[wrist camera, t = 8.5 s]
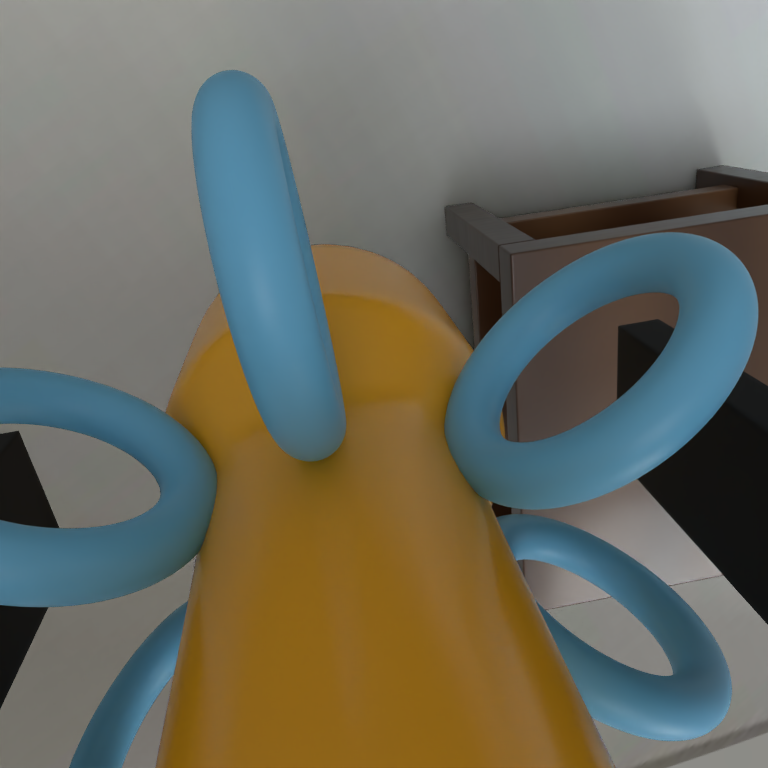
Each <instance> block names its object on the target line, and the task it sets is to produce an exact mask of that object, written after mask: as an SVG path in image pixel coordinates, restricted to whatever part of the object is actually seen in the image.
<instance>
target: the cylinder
mask: <svg viewBox="0 0 768 768" xmlns="http://www.w3.org/2000/svg"><path fill="white" fill-rule="evenodd" d="M191 128H192V149H193V160H194V168H195V176H196V183H197V189H198V195H199V201H200V207H201V212H202V217H203V223H204V227H205V232H206V237H207V242H208V246H209V251H210V255H211V260H212V264H213V268H214V272H215V276H216V280H217V284H218V288H219V292H220V293H219V294H218V295H217V297H216V298H215V299H214V301H213V302H212V303H211V305H210V306H209V308H208V309H207V311H206V313H205V315H204V317H203V319H202V321H201V323H200V325H199V327H198V329H197V331H196V334H195V336H194V339H193V341H192V343H191V346H190V348H189V351H188V353H187V356H186V358H185V361H184V363H183V366H182V368H181V371H180V373H179V376H178V378H177V381H176V383H175V386H174V388H173V391H172V394H171V396H170V399H169V402H168V405H167V408H166V412H165V413H164V412H163V411H161V410H160V409H158V408H156V407H155V406H153V405H151V404H149V403H147V402H145V401H143V400H141V399H139V398H137V397H135V396H132V395H130V394H128V393H125V392H123V391H120V390H118V389H115V388H112V387H109V386H107V385H103V384H100V383H97V382H94V381H90V380H86V379H83V378H78V377H74V376H70V375H65V374H60V373H54V372H48V371H40V370H32V369H21V368H1V367H0V424H9V423H12V424H33V425H43V426H50V427H56V428H61V429H66V430H70V431H74V432H78V433H82V434H85V435H88V436H91V437H94V438H97V439H99V440H102V441H104V442H107V443H109V444H111V445H113V446H115V447H117V448H119V449H121V450H123V451H125V452H126V453H128V454H129V455H131V456H132V457H134V458H135V459H137V460H138V461H139V462H140V463H142V464H143V465H144V466H145V467H146V468H147V469H148V470H149V471H150V472H151V473H152V475H153V476H154V477H155V479H156V481H157V482H158V485H159V487H160V492H161V495H160V499H159V501H158V502H157V504H156V505H155V506H154V507H153V508H151V509H150V510H149V511H147V512H145V513H144V514H142V515H140V516H138V517H135V518H133V519H130V520H127V521H124V522H120V523H116V524H111V525H106V526H99V527H90V528H46V527H36V526H28V525H22V524H17V523H11V522H7V521H3V520H0V605H6V606H18V607H61V606H73V605H82V604H89V603H95V602H100V601H105V600H109V599H114V598H117V597H121V596H124V595H128V594H131V593H134V592H136V591H139V590H142V589H144V588H147V587H149V586H151V585H153V584H155V583H157V582H159V581H161V580H163V579H165V578H167V577H168V576H170V575H172V574H173V573H175V572H176V571H178V570H179V569H180V568H182V567H183V566H184V565H186V564H187V563H188V562H189V561H190V560H191V559H192V558H193V557H194V556H195V555H196V554H197V556H196V561H195V567H194V573H193V578H192V583H191V589H190V594H189V599H188V601H187V602H186V603H184V604H183V605H181V606H180V607H179V608H178V609H176V610H175V611H174V612H173V613H172V614H170V615H169V616H168V617H167V618H166V619H165V620H164V621H163V622H162V623H161V624H160V625H159V626H158V627H157V628H156V629H155V630H154V631H153V632H152V633H151V634H150V635H149V636H148V637H147V639H146V640H145V641H144V642H143V643H142V644H141V646H140V647H139V648H138V649H137V650H136V652H135V653H134V654H133V656H132V657H131V658H130V659H129V661H128V662H127V663H126V665H125V666H124V668H123V669H122V670H121V672H120V673H119V675H118V676H117V678H116V679H115V681H114V682H113V684H112V685H111V687H110V688H109V690H108V691H107V693H106V695H105V696H104V698H103V699H102V701H101V703H100V705H99V706H98V708H97V710H96V712H95V713H94V715H93V717H92V719H91V721H90V723H89V724H88V726H87V728H86V730H85V732H84V734H83V736H82V739H81V741H80V743H79V745H78V747H77V750H76V752H75V754H74V757H73V759H72V761H71V764H70V767H69V768H122V765H123V763H124V760H125V757H126V755H127V753H128V750H129V748H130V746H131V743H132V741H133V739H134V737H135V735H136V733H137V731H138V729H139V727H140V725H141V723H142V721H143V720H144V718H145V716H146V714H147V713H148V711H149V709H150V708H151V706H152V704H153V703H154V701H155V700H156V698H157V697H158V695H159V694H160V692H161V691H162V689H163V688H164V686H165V685H166V684H167V682H168V681H169V680H170V678H171V677H172V676H173V675H174V676H173V681H172V686H171V691H170V696H169V701H168V706H167V711H166V716H165V721H164V726H163V731H162V736H161V741H160V746H159V751H158V757H157V762H156V767H155V768H616V767H615V765H614V763H613V761H612V759H611V757H610V755H609V753H608V751H607V748H606V746H605V744H604V742H603V740H602V738H601V736H600V734H599V732H598V730H597V728H596V726H595V724H594V721H593V719H592V718H594V719H596V720H598V721H600V722H602V723H604V724H606V725H608V726H611V727H613V728H616V729H618V730H621V731H623V732H626V733H629V734H633V735H636V736H640V737H644V738H648V739H654V740H661V741H683V740H690V739H694V738H697V737H700V736H703V735H705V734H707V733H708V732H710V731H712V730H713V729H714V728H715V727H717V726H718V725H719V724H720V722H721V721H722V720H723V718H724V717H725V715H726V713H727V711H728V709H729V706H730V702H731V695H732V684H731V677H730V672H729V669H728V665H727V663H726V660H725V658H724V655H723V653H722V651H721V649H720V647H719V645H718V644H717V642H716V640H715V638H714V637H713V635H712V634H711V632H710V631H709V629H708V628H707V627H706V625H705V624H704V623H703V621H702V620H701V619H700V618H699V616H698V615H697V614H696V613H695V612H694V611H693V610H692V608H691V607H690V606H689V605H688V604H687V603H686V602H685V601H684V600H683V599H682V598H681V597H680V596H679V595H678V594H677V593H676V592H675V591H674V590H673V589H672V588H670V587H669V586H668V585H667V584H666V583H665V582H664V581H662V580H661V579H660V578H659V577H658V576H656V575H655V574H654V573H653V572H651V571H650V570H649V569H647V568H646V567H645V566H643V565H642V564H641V563H639V562H638V561H636V560H635V559H633V558H632V557H630V556H629V555H627V554H626V553H624V552H623V551H621V550H620V549H618V548H616V547H615V546H613V545H611V544H609V543H608V542H606V541H604V540H602V539H600V538H598V537H596V536H594V535H592V534H590V533H588V532H586V531H584V530H581V529H579V528H577V527H574V526H572V525H569V524H566V523H563V522H560V521H557V520H554V519H550V518H546V517H541V516H536V515H528V514H510V515H504V516H500V517H496V516H495V514H494V511H493V509H492V504H493V503H496V504H499V505H503V506H506V507H511V508H518V509H530V510H538V509H552V508H559V507H565V506H570V505H574V504H578V503H581V502H585V501H588V500H591V499H594V498H597V497H600V496H602V495H605V494H607V493H610V492H612V491H614V490H616V489H618V488H621V487H623V486H625V485H627V484H628V483H630V482H632V481H634V480H636V479H638V478H639V477H641V476H643V475H644V474H646V473H648V472H649V471H651V470H652V469H654V468H655V467H657V466H658V465H660V464H661V463H662V462H664V461H665V460H667V459H668V458H669V457H670V456H672V455H673V454H674V453H676V452H677V451H678V450H679V449H680V448H682V447H683V446H684V445H685V444H686V443H687V442H688V441H690V440H691V439H692V438H693V437H694V436H695V435H696V434H697V433H698V432H699V431H700V430H701V429H702V428H703V427H704V426H705V425H706V424H707V422H708V421H709V420H710V419H711V418H712V417H713V416H714V414H715V413H716V412H717V411H718V410H719V408H720V407H721V406H722V404H723V403H724V402H725V400H726V399H727V397H728V396H729V395H730V393H731V392H732V390H733V388H734V387H735V385H736V383H737V382H738V380H739V378H740V376H741V374H742V372H743V370H744V368H745V366H746V364H747V362H748V359H749V357H750V354H751V351H752V348H753V345H754V341H755V337H756V332H757V326H758V300H757V294H756V290H755V286H754V283H753V281H752V278H751V276H750V274H749V272H748V271H747V269H746V267H745V266H744V265H743V263H742V262H741V261H740V260H739V258H738V257H737V256H736V255H735V254H733V253H732V252H731V251H730V250H729V249H727V248H726V247H724V246H723V245H721V244H719V243H717V242H715V241H713V240H711V239H708V238H705V237H702V236H698V235H694V234H688V233H678V232H665V233H653V234H647V235H641V236H637V237H633V238H629V239H625V240H622V241H619V242H616V243H613V244H610V245H608V246H605V247H603V248H600V249H598V250H596V251H593V252H591V253H589V254H587V255H585V256H583V257H581V258H579V259H577V260H576V261H574V262H572V263H570V264H569V265H567V266H565V267H564V268H562V269H560V270H559V271H557V272H556V273H554V274H553V275H551V276H550V277H548V278H547V279H545V280H544V281H543V282H541V283H540V284H539V285H537V286H536V287H535V288H533V289H532V290H531V291H530V292H528V293H527V294H526V295H525V296H524V297H522V298H521V299H520V300H519V301H518V302H517V303H516V304H515V305H513V306H512V307H511V308H510V309H509V310H508V311H507V312H506V313H505V314H504V315H503V316H502V317H501V318H500V319H499V320H498V321H497V323H496V324H495V325H494V326H493V327H492V328H491V329H490V330H489V332H488V333H487V334H486V335H485V336H484V338H483V339H482V340H481V342H480V343H479V344H478V346H477V347H476V348H475V350H473V349H472V347H471V346H470V345H469V343H468V342H467V340H466V339H465V338H464V336H463V335H462V333H461V332H460V331H459V329H458V328H457V326H456V325H455V324H454V322H453V321H452V320H451V318H450V317H449V315H448V314H447V313H446V311H445V310H444V308H443V307H442V306H441V304H440V303H439V302H438V300H437V299H436V298H435V297H434V295H433V294H432V293H431V292H430V291H429V289H428V288H427V287H426V286H425V285H424V284H423V283H422V282H421V281H420V280H419V279H418V278H416V277H415V276H414V275H413V274H412V273H410V272H409V271H408V270H406V269H405V268H403V267H402V266H400V265H399V264H397V263H395V262H393V261H391V260H389V259H387V258H385V257H383V256H381V255H379V254H376V253H373V252H370V251H367V250H363V249H359V248H355V247H349V246H341V245H329V244H321V245H310V241H309V237H308V233H307V229H306V224H305V220H304V216H303V212H302V208H301V203H300V199H299V195H298V191H297V187H296V183H295V179H294V175H293V171H292V167H291V163H290V159H289V155H288V151H287V147H286V144H285V140H284V136H283V133H282V129H281V125H280V122H279V118H278V115H277V112H276V109H275V106H274V103H273V100H272V98H271V96H270V94H269V92H268V91H267V89H266V88H265V86H264V85H263V84H262V83H261V82H260V81H259V80H258V79H256V78H255V77H253V76H252V75H250V74H248V73H245V72H242V71H238V70H226V71H222V72H219V73H216V74H214V75H213V76H211V77H210V78H209V79H207V80H206V81H205V82H204V84H203V85H202V86H201V88H200V89H199V91H198V93H197V95H196V98H195V101H194V105H193V111H192V126H191ZM652 292H658V293H666V294H670V295H672V296H674V297H675V298H676V299H677V300H678V303H679V316H678V320H677V324H676V326H675V329H674V331H673V334H672V336H671V338H670V340H669V341H668V343H667V345H666V347H665V348H664V350H663V351H662V353H661V354H660V356H659V357H658V358H657V360H656V361H655V362H654V364H653V365H652V366H651V367H650V368H649V370H648V371H647V372H646V373H645V374H644V375H643V376H642V377H641V378H640V379H639V380H638V381H637V382H636V383H635V384H634V385H633V386H632V387H631V388H630V389H629V390H628V391H627V392H626V393H625V394H623V395H622V396H621V397H620V398H619V399H617V400H616V401H615V402H614V403H612V404H611V405H610V406H608V407H607V408H606V409H604V410H603V411H601V412H600V413H598V414H597V415H595V416H594V417H592V418H590V419H589V420H587V421H585V422H583V423H582V424H580V425H578V426H576V427H574V428H572V429H570V430H568V431H565V432H563V433H561V434H558V435H555V436H552V437H549V438H546V439H542V440H538V441H533V442H523V443H519V442H511V441H508V440H506V439H505V427H504V419H503V413H502V408H503V405H504V402H505V400H506V398H507V395H508V393H509V391H510V389H511V388H512V386H513V384H514V382H515V381H516V379H517V378H518V376H519V375H520V373H521V372H522V371H523V369H524V368H525V367H526V366H527V364H528V363H529V362H530V361H531V360H532V358H533V357H534V356H535V355H536V354H537V353H538V352H539V351H540V350H541V349H542V348H543V347H544V346H545V345H546V344H547V343H548V342H549V341H551V340H552V339H553V338H554V337H555V336H556V335H558V334H559V333H560V332H561V331H563V330H564V329H565V328H567V327H568V326H569V325H571V324H572V323H574V322H575V321H577V320H578V319H580V318H582V317H583V316H585V315H587V314H588V313H590V312H592V311H594V310H596V309H598V308H600V307H602V306H604V305H606V304H608V303H611V302H613V301H616V300H619V299H622V298H625V297H628V296H632V295H637V294H642V293H652ZM523 559H528V560H536V561H541V562H545V563H549V564H552V565H555V566H558V567H560V568H563V569H565V570H568V571H570V572H572V573H574V574H576V575H578V576H580V577H582V578H584V579H585V580H587V581H589V582H591V583H592V584H594V585H596V586H597V587H599V588H600V589H602V590H603V591H605V592H606V593H607V594H609V595H610V596H612V597H613V598H614V599H616V600H617V601H618V602H619V603H621V604H622V605H623V606H624V607H625V608H627V609H628V610H629V611H630V612H631V613H632V614H633V615H634V616H635V617H636V618H637V619H638V620H639V621H640V622H641V623H642V624H643V625H644V626H645V627H646V628H647V629H648V630H649V631H650V632H651V634H652V635H653V636H654V637H655V639H656V640H657V641H658V643H659V644H660V645H661V647H662V648H663V650H664V652H665V653H666V655H667V657H668V659H669V661H670V664H671V666H672V670H673V675H671V676H659V675H653V674H649V673H645V672H642V671H639V670H636V669H633V668H631V667H628V666H626V665H624V664H622V663H619V662H617V661H615V660H613V659H611V658H610V657H608V656H606V655H604V654H602V653H601V652H599V651H597V650H596V649H594V648H592V647H591V646H589V645H588V644H586V643H585V642H583V641H582V640H580V639H579V638H578V637H576V636H575V635H574V634H572V633H571V632H570V631H568V630H567V629H566V628H565V627H563V626H562V625H561V624H560V623H559V622H558V621H556V620H555V619H554V618H553V617H552V616H551V615H550V614H549V613H548V612H547V611H546V610H545V609H544V608H543V607H542V606H541V605H540V604H539V603H538V602H537V601H536V600H535V598H534V597H533V594H532V592H531V590H530V588H529V586H528V584H527V582H526V580H525V578H524V575H523V573H522V571H521V569H520V567H519V565H518V563H517V560H523Z"/></svg>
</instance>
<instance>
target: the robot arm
mask: <svg viewBox="0 0 768 768" xmlns="http://www.w3.org/2000/svg"><path fill="white" fill-rule="evenodd" d="M673 331H674V328H672V327H671V326H669V325H667V324H666V323H664V322H663V321H661V320H659V319H655V320H649V321H644V322H638V323H632V324H626V325H621V326H618V358H617V399H619V398H620V397H621V396H622V395H623V394H625V393H626V392H627V391H628V390H629V389H630V388H631V387H632V386H633V385H634V384H635V383H636V382H637V381H638V380H639V379H640V378H641V377H642V376H643V375H644V374H645V373H646V372H647V371H648V370H649V368H650V367H651V366H652V365H653V364H654V362H655V361H656V360H657V358H658V357H659V356H660V354H661V353H662V351H663V350H664V348H665V347H666V345H667V343H668V341H669V340H670V338H671V336H672V334H673ZM637 480H638V481H639V482H640V483H641V484H642V485H643V486H644V487H645V488H646V490H647V491H648V492H649V493H650V494H651V495H652V496H653V497H654V498H655V500H656V501H657V502H658V503H659V504H660V505H661V506H662V507H663V509H664V510H665V511H666V512H667V513H668V514H669V515H670V516H671V517H672V519H673V520H674V521H675V522H676V523H677V524H678V525H679V526H680V527H681V529H682V530H683V531H684V532H685V533H686V534H687V535H688V536H689V537H690V539H691V540H692V541H693V542H694V543H695V544H696V545H697V546H698V547H699V549H700V550H701V551H702V552H703V553H704V554H705V555H706V556H707V557H708V559H709V560H710V561H711V562H712V563H713V564H714V565H715V566H716V568H717V569H718V570H719V571H720V572H721V573H722V574H723V575H724V576H725V578H726V579H727V580H728V581H729V582H730V583H731V584H732V585H733V586H734V588H735V589H736V590H737V591H738V592H739V593H740V594H741V595H742V596H743V598H744V599H745V600H746V601H747V602H748V603H749V604H750V605H751V606H752V608H753V609H754V610H755V611H756V612H757V613H758V614H759V615H760V616H761V618H762V619H763V620H764V621H765V622H766V623H767V624H768V386H767V385H765V384H764V383H762V382H761V381H759V380H757V379H756V378H754V377H752V376H751V375H749V374H748V373H746V372H744V371H743V372H742V374H741V376H740V378H739V380H738V382H737V383H736V385H735V387H734V388H733V390H732V392H731V393H730V395H729V396H728V397H727V399H726V400H725V402H724V403H723V404H722V406H721V407H720V408H719V410H718V411H717V412H716V413H715V414H714V416H713V417H712V418H711V419H710V420H709V421H708V422H707V424H706V425H705V426H704V427H703V428H702V429H701V430H700V431H699V432H698V433H697V434H696V435H695V436H694V437H693V438H692V439H691V440H690V441H688V442H687V443H686V444H685V445H684V446H683V447H682V448H680V449H679V450H678V451H677V452H676V453H674V454H673V455H672V456H670V457H669V458H668V459H667V460H665V461H664V462H662V463H661V464H660V465H658V466H657V467H655V468H654V469H652V470H651V471H649V472H648V473H646V474H644V475H643V476H641V477H639V478H638V479H637ZM0 520H3V521H7V522H11V523H17V524H22V525H28V526H36V527H46V528H59V526H58V524H57V521H56V519H55V516H54V514H53V512H52V509H51V507H50V505H49V502H48V500H47V497H46V495H45V493H44V490H43V488H42V485H41V483H40V481H39V478H38V476H37V474H36V471H35V469H34V466H33V464H32V462H31V459H30V457H29V454H28V452H27V450H26V447H25V445H24V443H23V440H22V438H21V435H20V433H19V431H15V432H9V433H4V434H0ZM47 609H48V607H18V606H6V605H0V708H1V706H2V704H3V702H4V700H5V698H6V696H7V693H8V691H9V689H10V687H11V685H12V683H13V681H14V679H15V677H16V674H17V672H18V670H19V668H20V666H21V664H22V662H23V660H24V657H25V655H26V653H27V651H28V649H29V647H30V645H31V643H32V641H33V638H34V636H35V634H36V632H37V630H38V628H39V626H40V624H41V622H42V619H43V617H44V615H45V613H46V611H47Z"/></svg>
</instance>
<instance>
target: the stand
mask: <svg viewBox="0 0 768 768" xmlns="http://www.w3.org/2000/svg"><path fill="white" fill-rule="evenodd" d="M445 220H446V233H447V236H448V237H450V238H451V239H452V240H453V241H454V242H455V243H456V244H457V245H459V246H460V247H461V248H462V249H463V250H464V251H465V252H466V253H468V257H469V272H470V287H471V301H472V316H473V331H474V346H475V348H476V347H477V346H478V344H479V343H480V342H481V340H482V339H483V338H484V336H485V335H486V334H487V333H488V332H489V330H490V329H491V328H492V327H493V326H494V325H495V324H496V323H497V321H498V320H499V319H500V318H501V317H502V316H503V315H504V314H505V313H506V312H507V311H508V310H509V309H510V308H511V307H512V306H513V305H515V304H516V303H517V302H518V301H519V300H520V299H521V298H522V297H524V296H525V295H526V294H527V293H528V292H530V291H531V290H532V289H533V288H535V287H536V286H537V285H539V284H540V283H541V282H543V281H544V280H545V279H547V278H548V277H550V276H551V275H553V274H554V273H556V272H557V271H559V270H560V269H562V268H564V267H565V266H567V265H569V264H570V263H572V262H574V261H576V260H577V259H579V258H581V257H583V256H585V255H587V254H589V253H591V252H593V251H596V250H598V249H600V248H603V247H605V246H608V245H610V244H613V243H616V242H619V241H622V240H625V239H629V238H633V237H637V236H641V235H647V234H653V233H665V232H678V233H688V234H694V235H698V236H702V237H705V238H708V239H711V240H713V241H715V242H717V243H719V244H721V245H723V246H724V247H726V248H727V249H729V250H730V251H731V252H732V253H733V254H735V255H736V256H737V257H738V258H739V260H740V261H741V262H742V263H743V265H744V266H745V267H746V269H747V271H748V272H749V274H750V276H751V278H752V281H753V283H754V286H755V290H756V294H757V300H758V326H757V332H756V337H755V341H754V345H753V348H752V351H751V354H750V357H749V359H748V362H747V364H746V366H745V368H744V370H743V371H744V372H746V373H748V374H749V375H751V376H752V377H754V378H756V379H757V380H759V381H761V382H762V383H764V384H765V385H767V386H768V173H767V172H761V171H755V170H749V169H743V168H736V167H730V166H724V165H722V166H715V167H709V168H702V169H698V170H697V179H696V189H692V190H686V191H679V192H672V193H666V194H659V195H652V196H645V197H639V198H632V199H625V200H619V201H612V202H605V203H599V204H592V205H585V206H579V207H572V208H565V209H559V210H552V211H545V212H539V213H532V214H525V215H519V216H512V217H505V218H498V217H496V216H494V215H492V214H491V213H489V212H487V211H486V210H484V209H482V208H481V207H479V206H477V205H475V204H474V203H465V204H459V205H452V206H446V207H445ZM678 316H679V303H678V300H677V299H676V298H675V297H674V296H672V295H670V294H666V293H658V292H652V293H642V294H637V295H632V296H628V297H625V298H622V299H619V300H616V301H613V302H611V303H608V304H606V305H604V306H602V307H600V308H598V309H596V310H594V311H592V312H590V313H588V314H587V315H585V316H583V317H582V318H580V319H578V320H577V321H575V322H574V323H572V324H571V325H569V326H568V327H567V328H565V329H564V330H563V331H561V332H560V333H559V334H558V335H556V336H555V337H554V338H553V339H552V340H551V341H549V342H548V343H547V344H546V345H545V346H544V347H543V348H542V349H541V350H540V351H539V352H538V353H537V354H536V355H535V356H534V357H533V358H532V360H531V361H530V362H529V363H528V364H527V366H526V367H525V368H524V369H523V371H522V372H521V373H520V375H519V376H518V378H517V379H516V381H515V382H514V384H513V386H512V388H511V389H510V391H509V393H508V395H507V398H506V400H505V402H504V405H503V408H502V413H503V419H504V427H505V439H506V440H508V441H511V442H519V443H523V442H533V441H538V440H542V439H546V438H549V437H552V436H555V435H558V434H561V433H563V432H565V431H568V430H570V429H572V428H574V427H576V426H578V425H580V424H582V423H583V422H585V421H587V420H589V419H590V418H592V417H594V416H595V415H597V414H598V413H600V412H601V411H603V410H604V409H606V408H607V407H608V406H610V405H611V404H612V403H614V402H615V401H616V400H617V358H618V326H621V325H626V324H632V323H638V322H644V321H649V320H655V319H659V320H661V321H663V322H664V323H666V324H667V325H669V326H671V327H672V328H674V329H675V326H676V324H677V320H678ZM492 509H493V511H494V514H495V516H496V517H500V516H504V515H510V514H528V515H536V516H541V517H546V518H550V519H554V520H557V521H560V522H563V523H566V524H569V525H572V526H574V527H577V528H579V529H581V530H584V531H586V532H588V533H590V534H592V535H594V536H596V537H598V538H600V539H602V540H604V541H606V542H608V543H609V544H611V545H613V546H615V547H616V548H618V549H620V550H621V551H623V552H624V553H626V554H627V555H629V556H630V557H632V558H633V559H635V560H636V561H638V562H639V563H641V564H642V565H643V566H645V567H646V568H647V569H649V570H650V571H651V572H653V573H654V574H655V575H656V576H658V577H659V578H660V579H661V580H662V581H664V582H665V583H666V584H667V585H668V586H672V585H677V584H682V583H687V582H692V581H698V580H703V579H708V578H713V577H718V576H723V574H722V573H721V572H720V571H719V570H718V569H717V568H716V566H715V565H714V564H713V563H712V562H711V561H710V560H709V559H708V557H707V556H706V555H705V554H704V553H703V552H702V551H701V550H700V549H699V547H698V546H697V545H696V544H695V543H694V542H693V541H692V540H691V539H690V537H689V536H688V535H687V534H686V533H685V532H684V531H683V530H682V529H681V527H680V526H679V525H678V524H677V523H676V522H675V521H674V520H673V519H672V517H671V516H670V515H669V514H668V513H667V512H666V511H665V510H664V509H663V507H662V506H661V505H660V504H659V503H658V502H657V501H656V500H655V498H654V497H653V496H652V495H651V494H650V493H649V492H648V491H647V490H646V488H645V487H644V486H643V485H642V484H641V483H640V482H639V481H638V480H637V479H636V480H634V481H632V482H630V483H628V484H627V485H625V486H623V487H621V488H618V489H616V490H614V491H612V492H610V493H607V494H605V495H602V496H600V497H597V498H594V499H591V500H588V501H585V502H581V503H578V504H574V505H570V506H565V507H559V508H552V509H538V510H530V509H518V508H511V507H506V506H503V505H499V504H496V503H493V504H492ZM517 563H518V565H519V567H520V569H521V571H522V573H523V575H524V578H525V580H526V582H527V584H528V586H529V588H530V590H531V592H532V594H533V597H534V598H535V600H536V601H537V602H538V603H539V604H540V605H541V606H542V607H543V608H544V609H545V610H548V609H554V608H559V607H564V606H569V605H574V604H579V603H584V602H590V601H595V600H600V599H605V598H610V597H612V596H610V595H609V594H607V593H606V592H605V591H603V590H602V589H600V588H599V587H597V586H596V585H594V584H592V583H591V582H589V581H587V580H585V579H584V578H582V577H580V576H578V575H576V574H574V573H572V572H570V571H568V570H565V569H563V568H560V567H558V566H555V565H552V564H549V563H545V562H541V561H536V560H528V559H523V560H517Z"/></svg>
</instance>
